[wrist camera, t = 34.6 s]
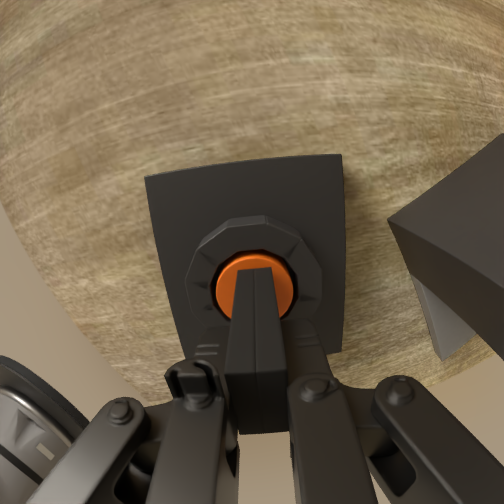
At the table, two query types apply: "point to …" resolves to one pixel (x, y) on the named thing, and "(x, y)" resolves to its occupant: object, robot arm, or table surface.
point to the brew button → (252, 261)
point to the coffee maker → (459, 252)
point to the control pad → (252, 236)
